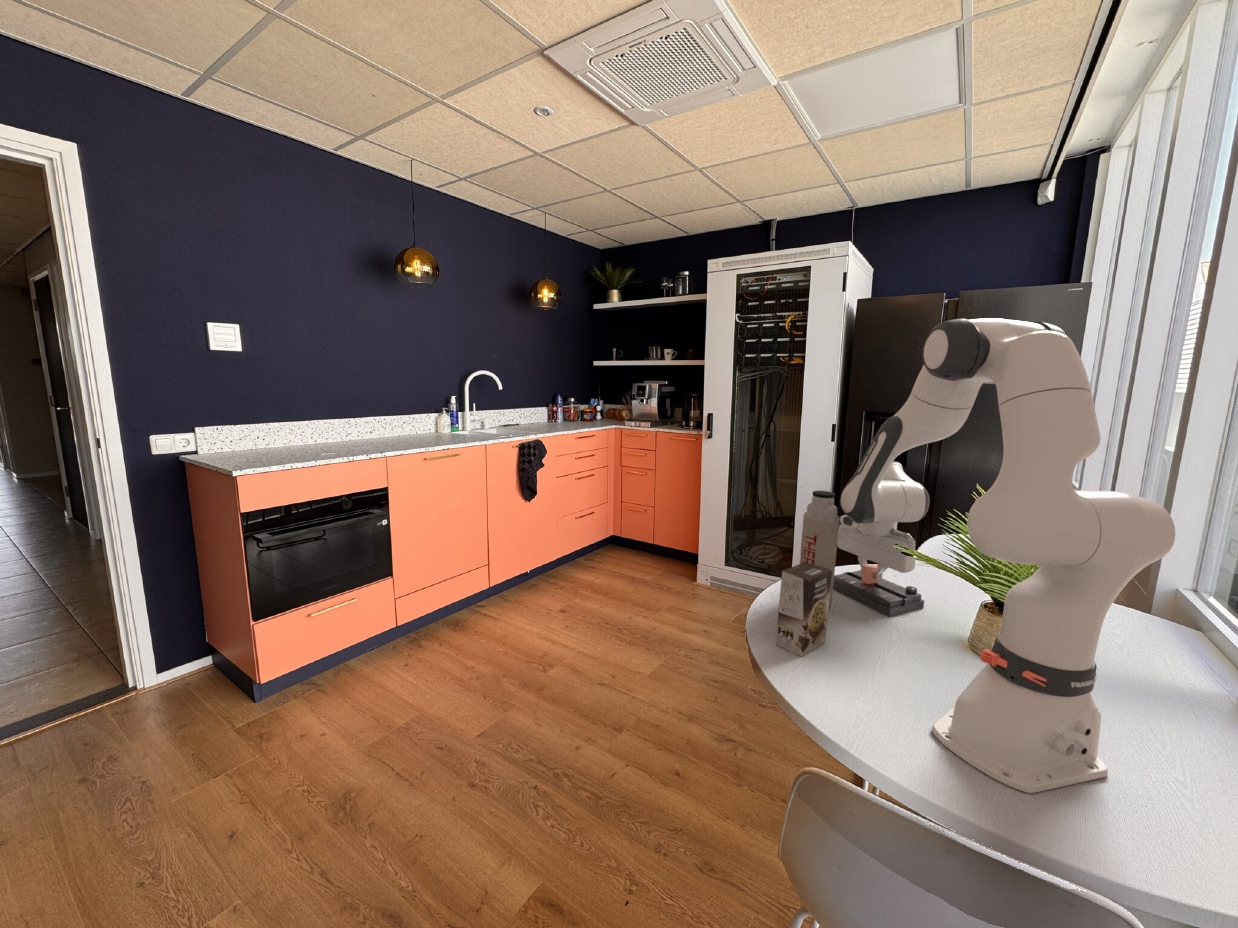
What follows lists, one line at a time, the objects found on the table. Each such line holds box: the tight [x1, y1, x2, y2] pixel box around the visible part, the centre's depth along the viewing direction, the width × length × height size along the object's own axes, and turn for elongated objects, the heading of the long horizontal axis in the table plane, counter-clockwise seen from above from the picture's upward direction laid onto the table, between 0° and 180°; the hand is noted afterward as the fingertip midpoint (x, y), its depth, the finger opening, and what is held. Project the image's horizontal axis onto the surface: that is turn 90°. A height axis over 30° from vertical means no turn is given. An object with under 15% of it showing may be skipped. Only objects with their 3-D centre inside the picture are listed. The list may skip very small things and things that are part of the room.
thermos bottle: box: [799, 490, 841, 611], centre depth 122 cm, size 8×8×28 cm
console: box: [833, 569, 925, 618], centre depth 128 cm, size 12×18×4 cm, turn 25°
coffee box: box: [775, 562, 832, 657], centre depth 104 cm, size 9×6×16 cm
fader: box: [862, 563, 879, 586], centre depth 129 cm, size 4×2×6 cm, turn 115°
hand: (870, 576), depth 129 cm, fingers closed on fader, 2 cm apart
